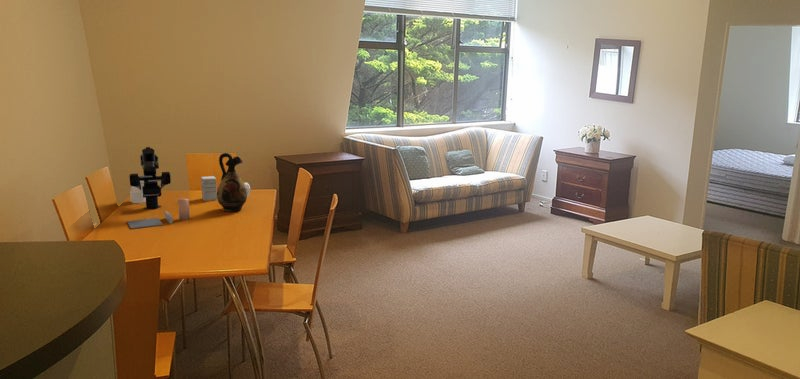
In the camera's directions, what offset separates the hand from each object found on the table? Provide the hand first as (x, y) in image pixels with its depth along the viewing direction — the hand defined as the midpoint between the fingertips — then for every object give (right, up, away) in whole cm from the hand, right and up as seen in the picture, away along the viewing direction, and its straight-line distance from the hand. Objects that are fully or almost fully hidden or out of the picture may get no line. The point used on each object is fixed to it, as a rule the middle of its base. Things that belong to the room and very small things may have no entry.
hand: (151, 188), depth 289 cm
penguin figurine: (+29, -5, +52) cm, 60 cm away
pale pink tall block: (+15, -15, +5) cm, 22 cm away
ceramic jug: (+32, -11, +25) cm, 42 cm away
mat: (-1, -17, -5) cm, 18 cm away
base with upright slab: (-23, -7, +40) cm, 47 cm away
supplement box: (+13, -6, +47) cm, 50 cm away
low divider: (+8, -16, +1) cm, 18 cm away
